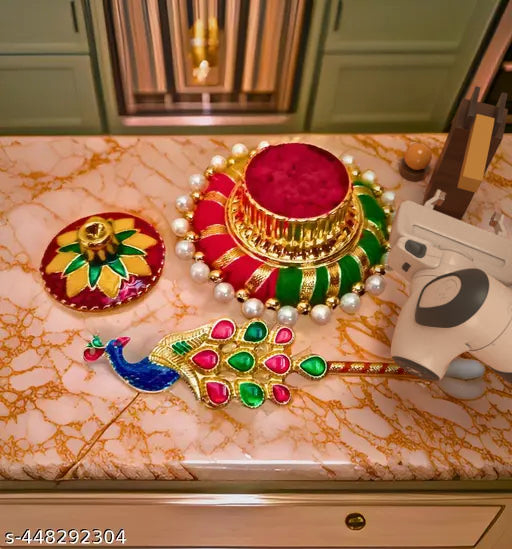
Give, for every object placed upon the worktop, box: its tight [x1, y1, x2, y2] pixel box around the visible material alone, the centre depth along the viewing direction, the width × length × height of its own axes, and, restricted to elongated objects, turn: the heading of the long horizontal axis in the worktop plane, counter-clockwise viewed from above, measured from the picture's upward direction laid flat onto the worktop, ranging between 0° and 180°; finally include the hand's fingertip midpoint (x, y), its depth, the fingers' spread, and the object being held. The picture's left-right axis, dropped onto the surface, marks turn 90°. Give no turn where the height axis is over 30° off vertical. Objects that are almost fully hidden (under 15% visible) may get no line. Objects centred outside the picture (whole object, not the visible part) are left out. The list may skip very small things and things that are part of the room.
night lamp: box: [398, 142, 433, 182], centre depth 123 cm, size 6×6×7 cm
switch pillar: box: [421, 85, 509, 221], centre depth 109 cm, size 8×8×27 cm
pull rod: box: [458, 114, 495, 194], centre depth 93 cm, size 15×3×3 cm, turn 160°
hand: (469, 203), depth 91 cm, fingers open, 8 cm apart
